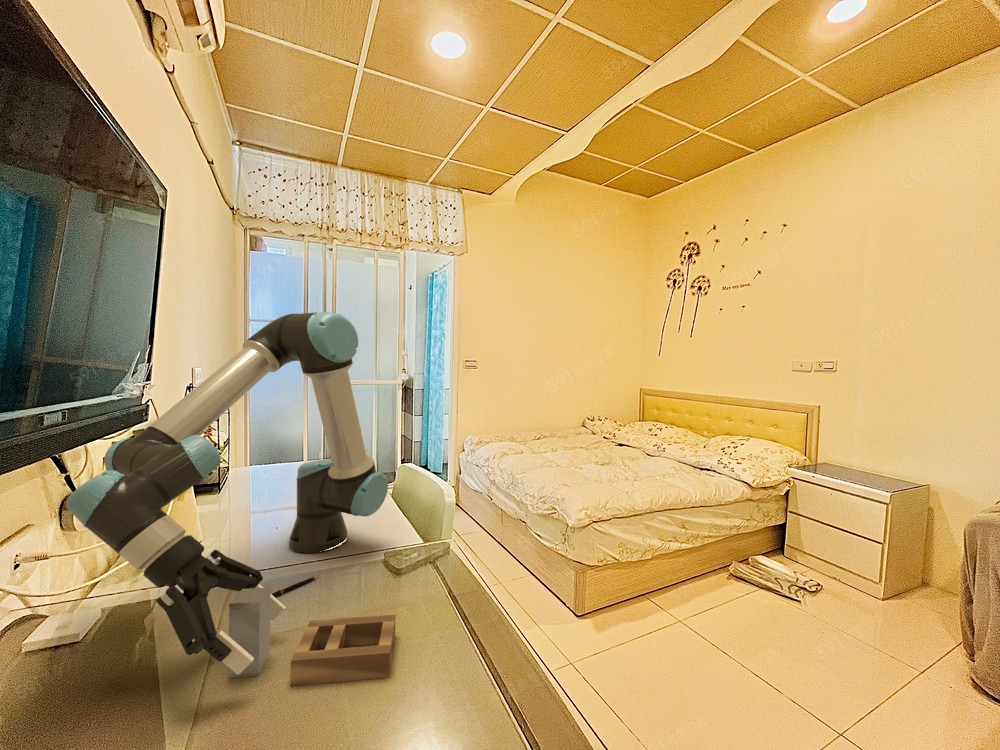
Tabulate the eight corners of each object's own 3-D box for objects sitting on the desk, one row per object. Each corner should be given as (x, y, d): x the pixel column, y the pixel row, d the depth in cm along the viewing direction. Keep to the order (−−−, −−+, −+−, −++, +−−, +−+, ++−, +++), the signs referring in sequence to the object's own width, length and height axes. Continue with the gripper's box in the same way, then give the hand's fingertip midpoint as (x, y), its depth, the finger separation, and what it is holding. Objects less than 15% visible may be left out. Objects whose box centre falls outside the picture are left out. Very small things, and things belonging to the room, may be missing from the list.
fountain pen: (318, 577, 99) (319, 571, 99) (321, 579, 98) (321, 572, 98) (255, 605, 87) (255, 597, 87) (258, 606, 87) (258, 599, 87)
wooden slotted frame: (310, 642, 76) (310, 620, 75) (395, 635, 78) (395, 614, 78) (290, 686, 65) (290, 660, 65) (389, 677, 68) (389, 652, 67)
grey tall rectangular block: (241, 658, 71) (242, 588, 71) (269, 656, 72) (270, 587, 71) (228, 678, 67) (229, 603, 66) (258, 675, 67) (259, 601, 67)
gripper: (191, 537, 79) (275, 611, 81) (81, 615, 54) (206, 717, 57) (222, 509, 79) (304, 582, 82) (127, 572, 55) (249, 675, 57)
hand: (264, 637), depth 69 cm, fingers open, 13 cm apart
